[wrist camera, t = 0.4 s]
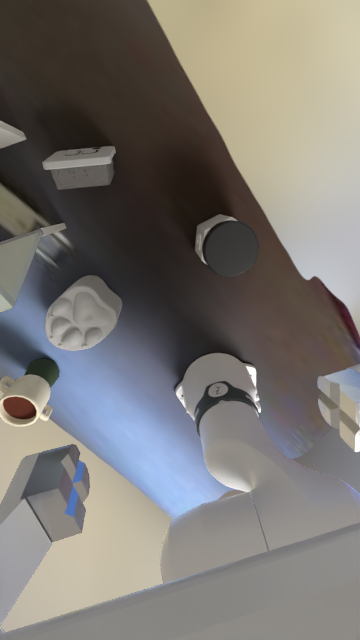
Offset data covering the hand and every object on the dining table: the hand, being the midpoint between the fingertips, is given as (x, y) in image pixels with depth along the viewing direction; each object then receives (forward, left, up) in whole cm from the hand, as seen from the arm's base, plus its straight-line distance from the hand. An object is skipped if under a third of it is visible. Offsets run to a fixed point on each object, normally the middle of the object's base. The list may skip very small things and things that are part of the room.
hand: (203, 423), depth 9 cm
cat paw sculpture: (-8, +19, -47) cm, 51 cm away
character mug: (-18, +33, -47) cm, 60 cm away
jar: (-3, -9, -47) cm, 47 cm away
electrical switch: (+15, +8, -47) cm, 50 cm away
